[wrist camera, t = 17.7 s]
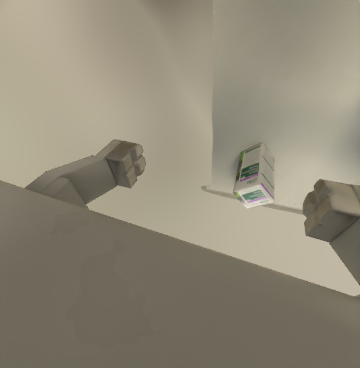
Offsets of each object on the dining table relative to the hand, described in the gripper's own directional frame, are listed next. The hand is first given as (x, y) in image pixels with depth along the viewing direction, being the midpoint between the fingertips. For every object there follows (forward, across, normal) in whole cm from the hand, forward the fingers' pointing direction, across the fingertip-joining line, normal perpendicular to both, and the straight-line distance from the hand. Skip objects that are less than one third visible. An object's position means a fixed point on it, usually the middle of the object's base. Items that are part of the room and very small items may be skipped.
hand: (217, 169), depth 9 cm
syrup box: (+34, -5, +22) cm, 41 cm away
